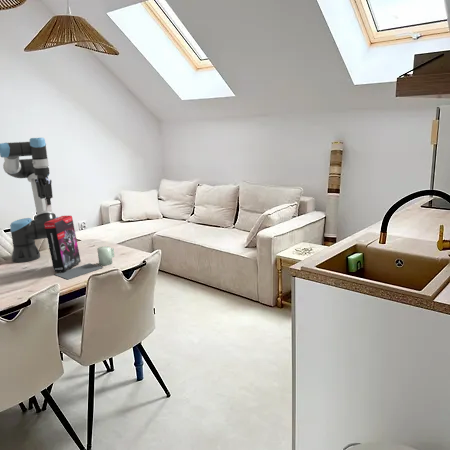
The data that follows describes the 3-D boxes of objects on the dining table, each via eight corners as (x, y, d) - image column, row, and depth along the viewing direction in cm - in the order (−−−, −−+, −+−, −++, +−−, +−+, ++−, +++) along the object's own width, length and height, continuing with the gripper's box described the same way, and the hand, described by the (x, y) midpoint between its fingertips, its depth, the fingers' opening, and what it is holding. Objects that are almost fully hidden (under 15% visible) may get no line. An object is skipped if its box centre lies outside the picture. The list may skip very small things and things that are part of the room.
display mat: (54, 274, 219) (54, 274, 219) (89, 263, 235) (89, 263, 235) (67, 279, 211) (67, 279, 211) (103, 267, 227) (103, 267, 227)
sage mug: (96, 264, 233) (94, 248, 231) (110, 259, 240) (108, 244, 238) (104, 266, 229) (102, 250, 227) (118, 261, 236) (116, 246, 234)
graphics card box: (64, 272, 220) (55, 221, 215) (52, 273, 222) (43, 222, 216) (81, 262, 237) (73, 214, 231) (70, 262, 238) (61, 215, 232)
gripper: (26, 167, 227) (33, 210, 233) (42, 168, 217) (48, 213, 222) (40, 166, 233) (46, 208, 238) (55, 167, 223) (61, 210, 228)
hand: (47, 210), depth 230 cm, fingers open, 3 cm apart
